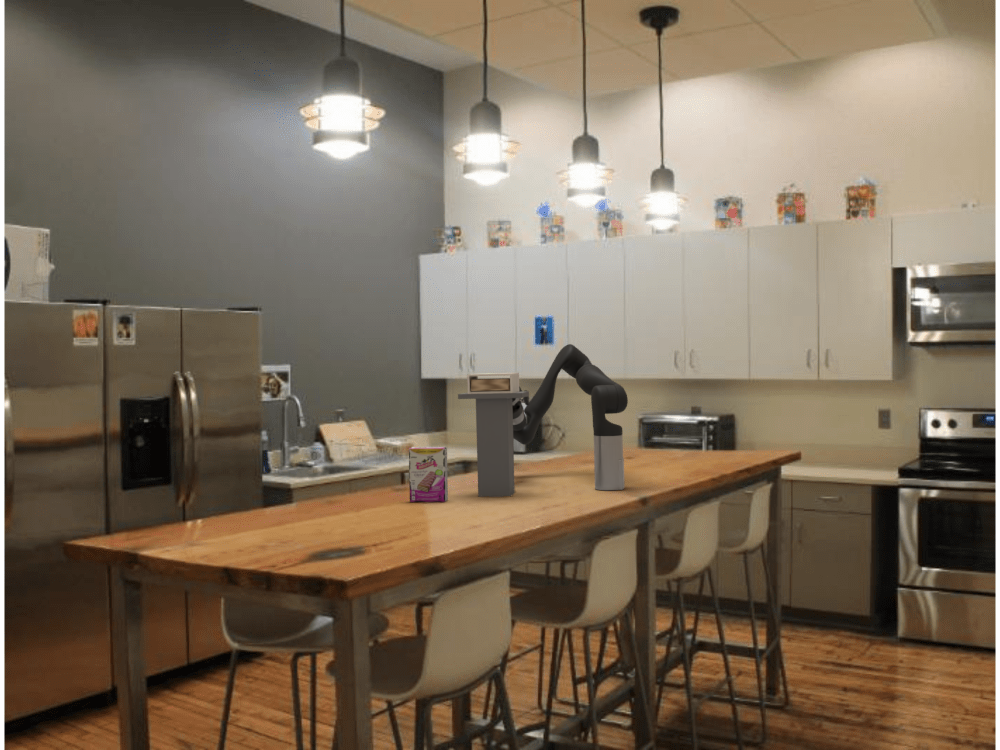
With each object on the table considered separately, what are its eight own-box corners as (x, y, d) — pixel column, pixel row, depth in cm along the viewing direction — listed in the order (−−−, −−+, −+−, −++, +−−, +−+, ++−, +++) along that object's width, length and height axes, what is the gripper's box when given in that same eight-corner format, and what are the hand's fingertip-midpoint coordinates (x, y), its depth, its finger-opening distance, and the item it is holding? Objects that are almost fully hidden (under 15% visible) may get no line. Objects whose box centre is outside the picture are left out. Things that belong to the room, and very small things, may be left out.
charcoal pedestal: (531, 492, 313) (529, 391, 312) (524, 497, 300) (521, 392, 300) (470, 491, 317) (467, 392, 316) (460, 497, 304) (457, 394, 304)
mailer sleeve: (519, 391, 313) (518, 372, 312) (512, 393, 301) (511, 373, 301) (476, 392, 315) (475, 373, 315) (467, 393, 304) (467, 374, 303)
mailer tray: (522, 387, 323) (521, 377, 323) (509, 390, 301) (509, 379, 301) (486, 388, 325) (486, 378, 325) (471, 390, 304) (470, 379, 304)
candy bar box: (409, 502, 296) (407, 448, 296) (412, 500, 301) (410, 446, 301) (446, 502, 295) (444, 447, 295) (448, 499, 300) (447, 446, 300)
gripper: (492, 400, 340) (483, 378, 326) (533, 399, 337) (525, 377, 324) (491, 420, 337) (481, 398, 323) (532, 419, 334) (524, 397, 320)
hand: (503, 387), depth 323 cm, fingers open, 8 cm apart
